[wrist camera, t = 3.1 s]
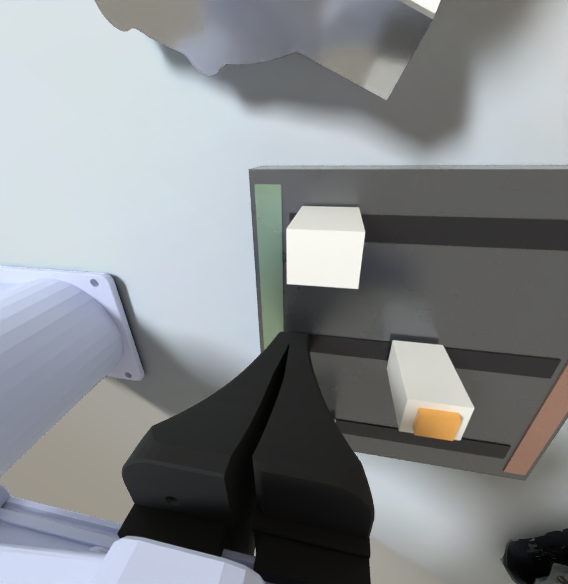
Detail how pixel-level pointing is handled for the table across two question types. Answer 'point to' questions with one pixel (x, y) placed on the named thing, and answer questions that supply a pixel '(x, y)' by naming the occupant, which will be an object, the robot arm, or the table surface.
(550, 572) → the electronic device
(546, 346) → the grey slider switch panel
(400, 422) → the block
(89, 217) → the table surface
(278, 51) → the tabbed white plastic disc
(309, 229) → the block
